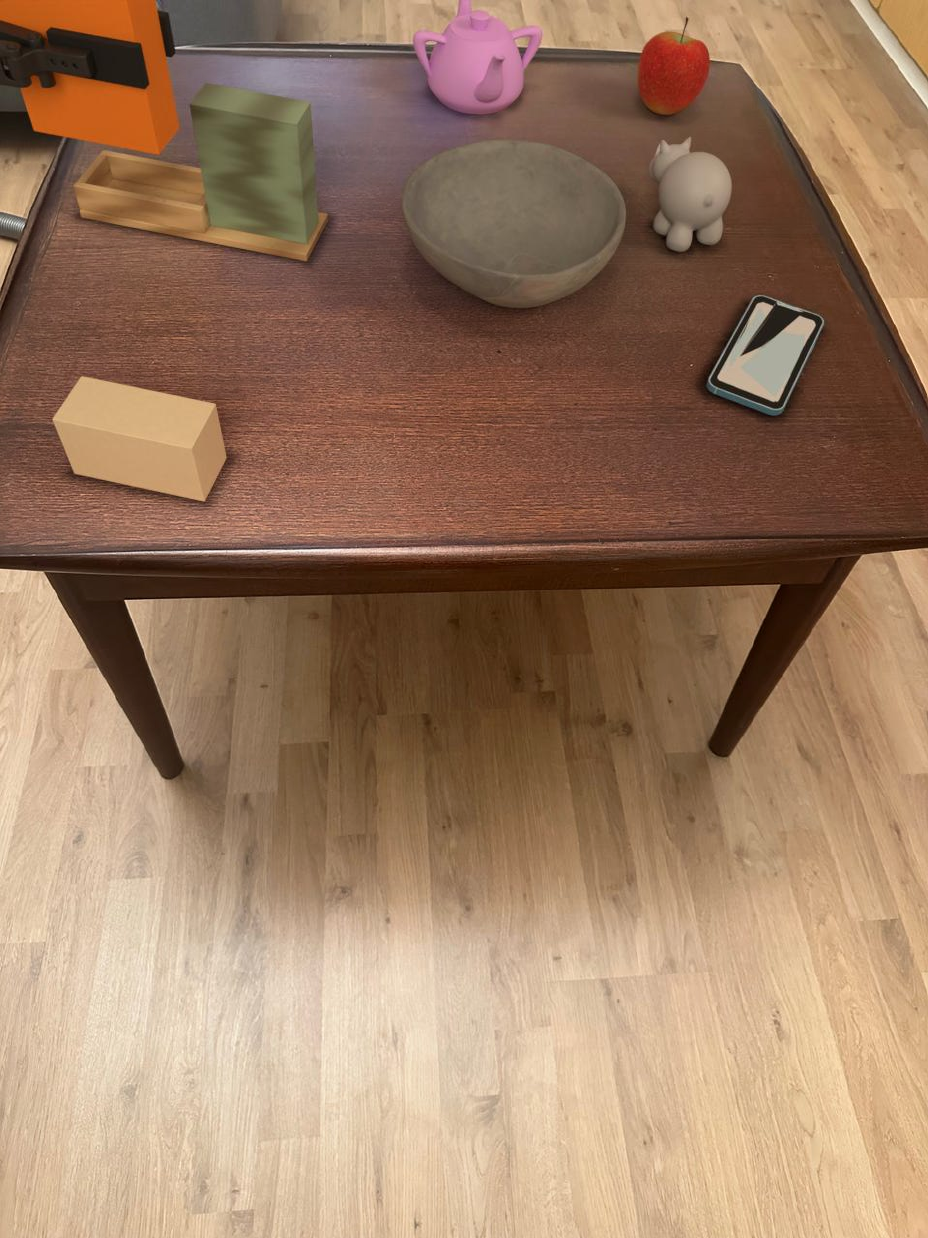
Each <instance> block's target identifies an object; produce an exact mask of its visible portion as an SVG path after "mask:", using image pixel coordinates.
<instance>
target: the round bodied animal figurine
mask: <svg viewBox="0 0 928 1238" xmlns="http://www.w3.org/2000/svg"><path fill="white" fill-rule="evenodd" d="M691 145H692V136H689V137H687V138H686V139H685V140H684V141H683V142H682V143H680V144H678V143H671V144H668V143H667V141H666V140H664V139H661V141H660V143H659V144H658V146H657V147H656V150H655V154H654V156H653V158H652V159H651V160H650V161H649V164H648V166H647V173H648V176H649V178H650V180H651V181H652V182H654V183H656V184H657V185H658V186H659V187H658V192H657V193H658V204H659V207H660V209H659V210H658V212H657V213H656V215H655V217H654V219H653V223H652V228H653V231H654V232H655V233H657V234H659V235H661V236H664V237H666V238H665V246H666V247H667V248H668V249H669V250H671V251H674V252H677V253H684V252H686V251H688V250H689V249H690V247H691V245H692V241H693V232H695V231H696V233H695V234H696V239H697V241H698V242H699V243H700V244H701V245H706V246H714V245H716V244H717V243H718V244H719V242H720V240H721V238H722V235H723V231H724V223H723V222H724V221H723V214H724V213H725V211H726V209H727V207H728V205H729V203H730V201H731V197H732V190H733V185H732V178H731V175H730V171H729V170H728V168H727V166H726V165H725V163H724V162H723V161H722V160H721V159H720V158H718V157H717V156H716V155H714V154H712V153H710V152H705V151H692V152H690V149H691Z"/></svg>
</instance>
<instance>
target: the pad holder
mask: <svg viewBox="0 0 928 1238" xmlns="http://www.w3.org/2000/svg"><path fill="white" fill-rule="evenodd" d="M311 104H312V103H311V101H309V100H303V99H298V98H292V97H287V96H282V95H275V94H270V93H266V92H265V93H264V92H260V91H259V92H258V91H253V90H248V89H242V88H237V87H232V86H228V85H227V86H226V85H221V84H215V83H210V82H204V84H203V85H202V87H201V88H200V89H199V91H198V92H197V93H196V94H195V96H194V97H193V98H192V100H191V101H190V103H189V111H190V115H191V122H192V129H193V133H194V139H195V145H196V151H197V156H198V161H199V167H196V166H191V165H185V164H180V163H175V162H169V161H165V160H159V159H154V158H148V157H144V156H143V157H142V156H137V155H132V154H129V153H128V154H126V153H122V152H116V151H112V150H106V149H102V150H101V152H100V153H99V154H98V155H97V156H96V158H95V159H94V160H93V162H91V164H90V165H89V166H88V167H87V168H86V170H85V171H84V172H83V173H82V174H81V176H80V177H79V178H78V179H77V180H76V181H75V183H74V184H73V185H72V187H73V191H74V194H75V197H76V201H77V204H78V207H79V215H80V218H82V219H87V220H92V221H97V222H103V223H108V224H112V225H118V226H122V227H127V228H133V229H138V230H143V231H149V232H153V233H157V234H163V235H168V236H175V237H179V238H184V239H189V240H194V241H199V242H204V243H210V244H216V245H220V246H226V247H230V248H236V249H242V250H246V251H251V252H256V253H261V254H267V255H272V256H276V257H282V258H286V259H292V260H297V261H301V262H307V261H308V260H309V258H310V256H311V255H312V252H313V250H314V248H315V246H316V245H317V243H318V241H319V239H320V237H321V235H322V234H323V232H324V229H325V228H326V226H327V224H328V222H329V214H328V213H326V212H320V211H319V202H318V191H317V190H318V187H317V175H316V162H315V161H316V160H315V147H314V146H315V145H314V134H313V132H314V131H313V119H312V118H313V117H312V116H313V115H312V105H311Z"/></svg>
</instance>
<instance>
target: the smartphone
mask: <svg viewBox="0 0 928 1238" xmlns="http://www.w3.org/2000/svg"><path fill="white" fill-rule="evenodd" d="M824 325H825V319H824V318H823V317H822V315H820V314H819V313H815V312H813V311H810V310H807V309H804V308H801V307H799V306H795V305H793V304H790V303H787V302H784V301H781V300H778V299H775V298H773V297H770V296H767V295H764V294H757V295H754V296H753V297H752V298H751V300H750V302H749V304H748V305H747V307H746V308H745V311H744V313H743V314H742V316H741V317H740V319H739V321H738V323H737V325H736V327H735V329H734V331H733V332H732V334H731V335H730V338H729V339H728V342H727V343H726V345H725V347H724V349H723V350H722V352H721V354H720V356H719V358H718V360H717V362H716V363H715V365H714V367H713V368H712V371H711V372H710V374H709V376H708V378H707V381H706V384H705V385H706V386H705V387H706V389H707V390H708V391H709V392H710V393H712V394H714V395H717V396H719V397H722V398H724V399H726V400H730V401H732V402H734V403H737V404H740V405H742V406H745V407H748V408H750V409H753V410H755V411H758V412H760V413H763V414H765V415H768V416H772V417H773V416H779V415H782V413H783V412H784V409H785V408H786V406H787V403H788V402H789V399H790V397H791V395H792V394H793V391H794V389H795V387H796V385H797V382H798V380H799V378H800V376H801V374H802V372H803V370H804V368H805V366H806V363H807V361H808V360H809V357H810V355H812V352H813V350H814V349H815V346H816V342H817V340H818V339H819V336H820V334H821V332H822V330H823V328H824Z"/></svg>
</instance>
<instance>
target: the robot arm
mask: <svg viewBox="0 0 928 1238" xmlns="http://www.w3.org/2000/svg"><path fill="white" fill-rule="evenodd" d="M157 11H158V17H159V22H160V27H161V33H162V38H163V43H164V48H165V54H166V58H173V57H174V56H175V55H176V46H175V41H174V36H173V29H172V24H171V20H170V15H169V12H168V11H163V10H157ZM46 34H47V38H48V41H44V39H43V35H42V34H41V33H39V32H36V31H33V30H30V29H27V28H23V27H20V26H17V25H14V24H11V23H7V22H4V21H1V20H0V86H5V87H12V88H19V89H20V88H27V87H29V86H30V85H31V84H32V81H31V78H30V77H31V76H33V75H35V76H38V77H39V80H40V83H41V86H42V88H51V87H54V86H55V85H56V80H55V77H54V73H53V72H55V73H60V74H65V75H71V76H76V77H81V78H87V79H92V80H98V81H103V82H108V83H114V84H119V85H124V86H130V87H135V88H140V89H146V88H147V87H148V85H149V79H148V74H147V69H146V65H145V60H144V55H143V50H142V45H141V43H137V42H130V41H124V40H119V39H113V38H108V37H102V36H97V35H92V34H86V33H81V32H75V31H70V30H64V29H59V28H53V27H50V28H49V29H48V30H47V31H46ZM5 67H7V68H8V69H6V68H5Z"/></svg>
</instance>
